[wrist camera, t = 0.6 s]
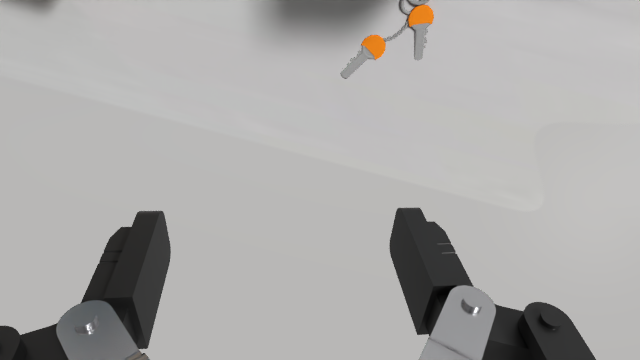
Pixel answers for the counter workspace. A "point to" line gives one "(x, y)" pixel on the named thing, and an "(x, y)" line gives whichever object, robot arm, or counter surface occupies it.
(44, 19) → the counter surface
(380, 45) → the key chain
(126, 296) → the robot arm
